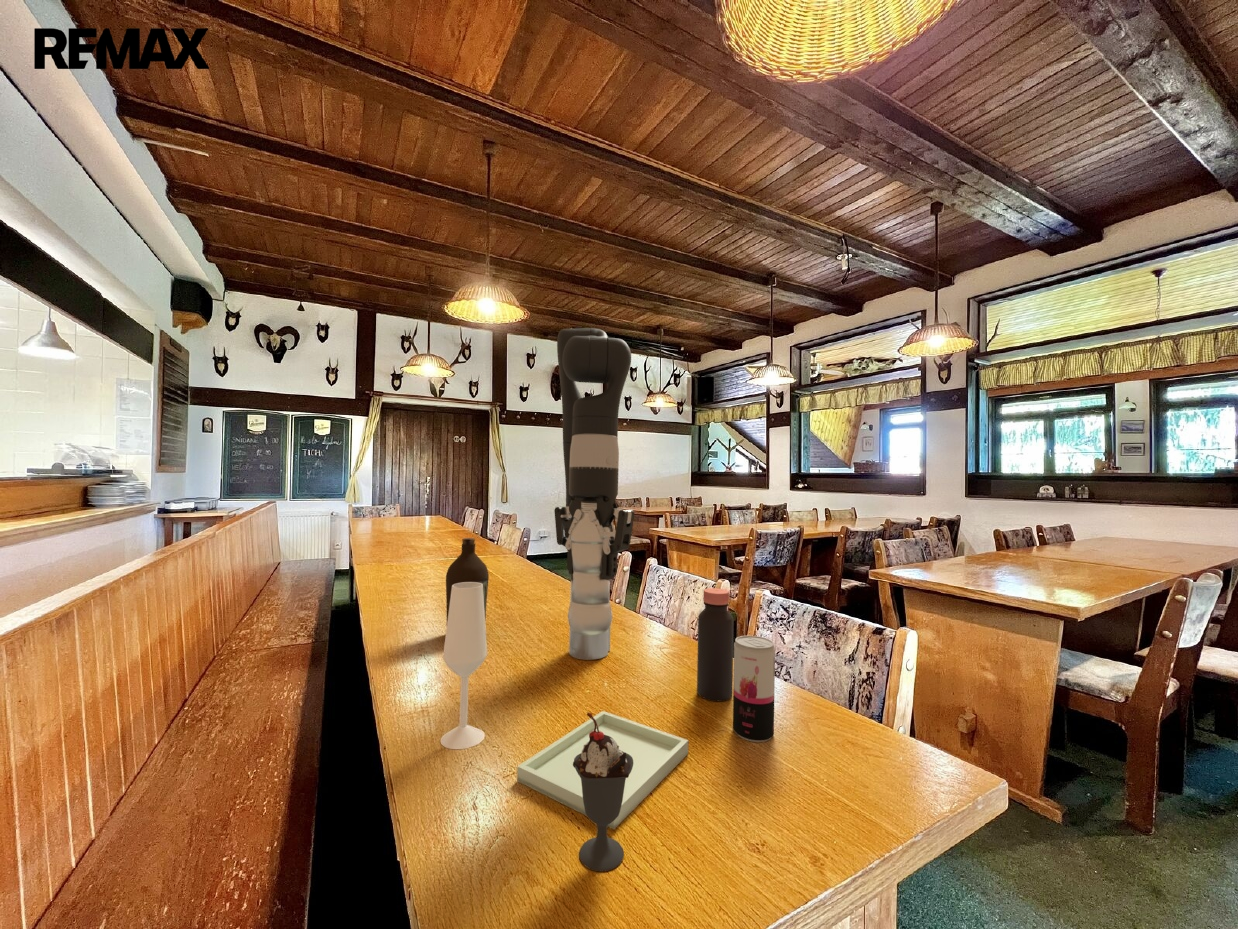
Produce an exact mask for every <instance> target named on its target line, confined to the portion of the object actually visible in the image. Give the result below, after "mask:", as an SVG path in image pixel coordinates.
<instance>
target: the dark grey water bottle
mask: <svg viewBox="0 0 1238 929" xmlns="http://www.w3.org/2000/svg"><path fill="white" fill-rule="evenodd" d="M702 601H703V604H704V609H703V610H701V611H700V613H699V614H698V617H697V658H696V659H697V664H696V667H697V670H696V672H697V673H696V676H697V677H696V692H697V695H698V696H700V697H701V698H702V699H705V700H707V701H712V702H724V701H728V700H730V699H731V698H733V685H734V625H735V623H734V617H733V615H732V614H731V612H729V610H728V606H729V604H730V591H728V590H727V589H723V588H714V587H711V588H710V587H709V588H704V590H703V600H702Z"/></svg>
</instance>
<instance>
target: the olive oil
mask: <svg viewBox="0 0 1238 929" xmlns="http://www.w3.org/2000/svg"><path fill="white" fill-rule="evenodd" d="M461 540H462V541H461V542H462V543H461V553H460V554H459V556H457V557H456V559H455V560H454V561H453V562H452V563H451V564H450V565H449V567H448V569H447V571H446V575H445V593H446V594H445V596H446V600H445V601H446V607H445V608H446V622H447V621H448V613H449V605H450V598H451V590H452V585H453V584H456V583H462V582H478V583H482V584H483V595H484V611H485V620H486V618H487V600H488V590H489V588H488V587H489V571H488V567H487V565H486V563H484V561H483V560H482V559H481V558H480V557H479V556H478V555H477V554H476V543H475V542H476V539H475V538H474V537H466V538H462V539H461Z"/></svg>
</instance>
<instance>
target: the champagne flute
mask: <svg viewBox="0 0 1238 929" xmlns="http://www.w3.org/2000/svg"><path fill="white" fill-rule="evenodd" d="M444 639H445V640H444V646H443V654H442V658H443V661H444V663H445V665H446V666H447V668H448V669H450V671H452V672H453V673H454V674H456V675H457V676H459V677H460V694H459V695H460V697H459V699H460V700H459V725H458V726H455V727H454V728H453V729H451V730H449V731H448V732H446V733H444V735H442V736H441V738H440V744H441V746H443V747H444V748H446V749H450V750H465V749H468V748H470V749H471V748H472V747H475V746H477V745H479V744H480V743H481V742H483V740H484V739H485V736H486V735H485V732H484V731H483V730H482V729H481V728H480V729H479V728H477V727H474V726H472V725H471V724H468V707H469V705H468V703H469V702H468V701H469V677H470V676H471V675H472V674H474V673H475V672H476V671H477V670H478V669H479V668H480V667H481V666H482V665H483V663H484V662H485V660H486V658H487V656H488V645H487V642H488V641H487V627H486V619H485V611H484V595H483V584H482V583H478V582H462V583H456V584H453V585H452V590H451V598H450V605H449V613H448V621H447V620H446V630H445V638H444Z"/></svg>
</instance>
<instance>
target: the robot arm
mask: <svg viewBox="0 0 1238 929" xmlns="http://www.w3.org/2000/svg"><path fill="white" fill-rule="evenodd" d="M556 351H557V352H556V353H557V361H558V362H557V363H558V364H557V365H558V372H559V373H558V374H559V382H560V384H559V385H560V393H561V404H562V405H561V407H562V408H561V410H562V411H561V412H562V447H563V448H562V449H563V450H562V451H563V463H564V477H565V478H564V479H565V506H556V507H555V508H554V509H553V510H554V521H555V522H554V523H555V534H556V535H555V538H556V543H557V545H559V546H563V547H564V548H565V549H566V551H567V554H566V555H567V559H566V564H567V565H566V569H567V571H568V574H569V575H570V601H569V602H571V596H572V586H573V572H574V571H573V558H572V550H571V541H570V534H571V531H572V529H573V527H574V526H575V524H576V523H577V522H578V521H579V520H580V519H581V518H582V516H583V513H582V512H581V501H597V509H596V510H590V511H589V513H588V515H589V518H590V521H591V522H593V523H594V524H595V526H596V525H597V526H596V528H597V530H599V536H600V538H601V539H603V544H602V548H603V551H604V553H605V554H603V567H602V578H603V579H604V580H609V590H611V589H610V585H611V584H610V582H611V581H610V580H614V579H615V577H616V576H617V573H618V558H619V557H618V554H620V552H623V551H626V550H629V549H630V548H631V547H630V546H631V541H632V540H631V539H632V534H633V526H634V520H635V511H634V510H633V509H622V508H619V507H618V504H617V497H618V495H619V468H620V467H619V466H620V465H619V464H620V463H619V461H620V452H619V451H620V449H619V441H618V438H619V437H618V434H619V433H618V432H619V431H618V430H619V429H618V428H619V413H620V412H619V411H620V410H619V409H620V403H621V397H622V394H623V390H624V388H625V384H626V381H627V377H628V374H629V372H630V368H631V364H632V351H631V348H630V346H629V345H628V344H627V342H626V341H625V340H623V339H621V338H615V337H609V336H608V335H607V333H606V332H605V331H604V330H602V329H600V328H595V327H594V328H563V329H561V330H559V332H558V334H557V340H556ZM576 382H577V383H588V384H606V389H605V390H604V391H602V392H601V393H598V394H595V395H589V396H585V397H583V396H582V394H581V392H580V391H579V389H578V388H579V387H578V386H577V384H576ZM614 521H615V522H616V527H615V525H614ZM605 527H610V529H611V532H605V531H604V530H603V528H605ZM608 537H611V538H612V542H611V545H610V542H609V539H608ZM611 628H612V627H611V626H610V628H609V630H608V631H607V632H606V633H603V634H599V635H583V634H578V633H575V632H573V631H572V629H571V628H570V627H569V635H568V636H569V641H568V642H569V643H568V644H569V645H568V653H569V655H570V657H573V658H574V659H578V660H585V661H586V660H587V661H591V660H593V661H594V660H598V659H599V660H600V659H602V658H605V657H607V656H608V654H609V652H610V651H611Z"/></svg>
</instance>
